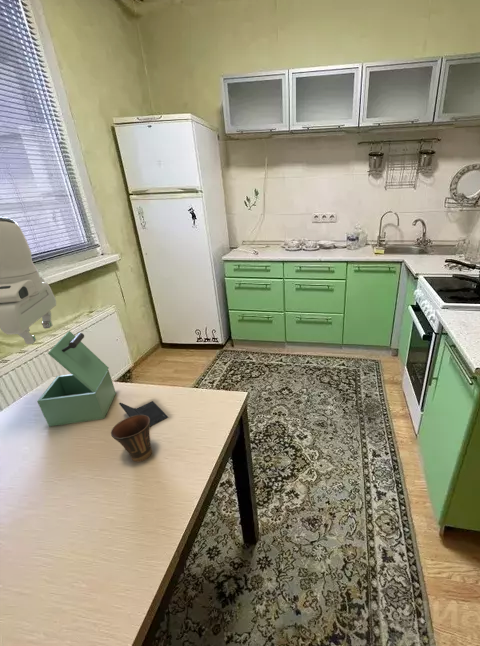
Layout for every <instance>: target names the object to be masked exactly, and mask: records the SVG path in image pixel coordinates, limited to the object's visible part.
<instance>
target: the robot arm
mask: <svg viewBox="0 0 480 646" xmlns="http://www.w3.org/2000/svg"><path fill="white" fill-rule="evenodd" d="M56 299H57V298H56V297H55V294H54V292H53V290H52V288H51V286H50V284H49V283H48V282H46V281H45V279H44V277H42V276H41V275H40V273H39V270H38V268H37V266H36V265H35V264H34V262H33V259H32V250H31V248H30V245H29V243H28V241H27V238H26V237H25V233H24V232H23V230H22V228H21V227H20V225H19V224H18V223H17V221H15V220H14V219H12V218H10V217H7V216H4V215H0V331H1V332H3V333H4V334H6V335H18V336H20V337H21V338H22V339H23V341H24V343H25V344H26V345H33V344H34V343H36V341H37V339H36V336H35V334H33V335H32V334H31V333H30V331H31V329H30V327H31V326H33V325H34V324H35V323H36V322H37V321H39V320H40V319H42V322H41V325H42V328H43V329H45V330H47V329H51V328H53V322H52V312H51V311H52V310H53V309H54V308H55V307H56V306H57V300H56Z"/></svg>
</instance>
